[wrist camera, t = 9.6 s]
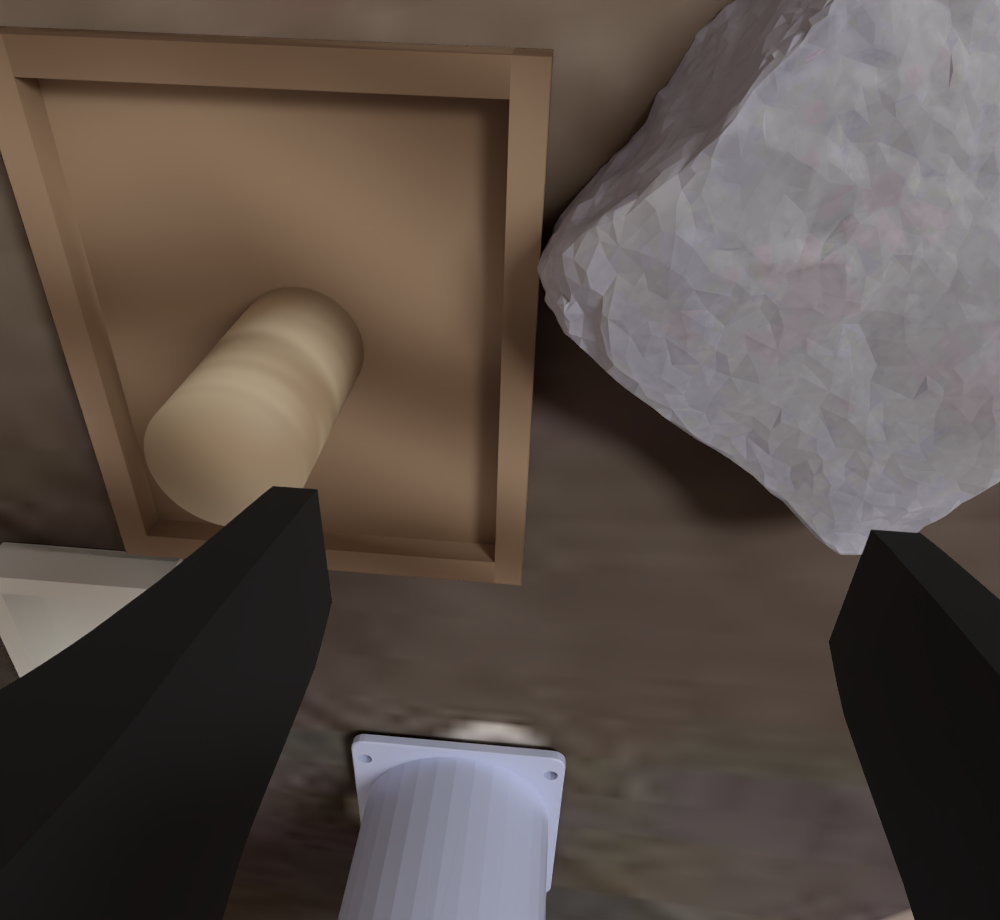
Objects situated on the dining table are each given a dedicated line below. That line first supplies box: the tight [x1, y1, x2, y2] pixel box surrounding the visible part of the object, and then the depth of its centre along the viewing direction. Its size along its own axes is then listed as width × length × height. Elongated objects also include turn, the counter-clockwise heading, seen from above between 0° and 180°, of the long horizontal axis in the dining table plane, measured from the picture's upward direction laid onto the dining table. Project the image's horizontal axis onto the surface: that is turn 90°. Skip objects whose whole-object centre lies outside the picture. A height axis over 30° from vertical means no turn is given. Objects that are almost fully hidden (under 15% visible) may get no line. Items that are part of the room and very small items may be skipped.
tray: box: [0, 26, 553, 585], centre depth 20 cm, size 14×12×1 cm
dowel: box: [144, 287, 364, 526], centre depth 18 cm, size 3×3×6 cm
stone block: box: [537, 0, 1000, 555], centre depth 17 cm, size 12×5×10 cm
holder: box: [0, 542, 183, 677], centre depth 27 cm, size 6×6×2 cm
